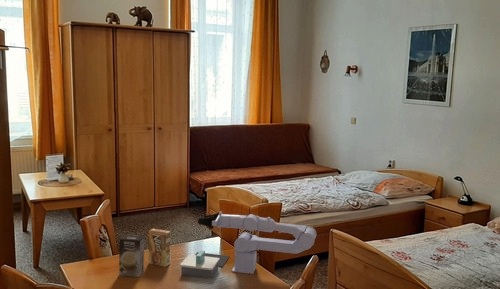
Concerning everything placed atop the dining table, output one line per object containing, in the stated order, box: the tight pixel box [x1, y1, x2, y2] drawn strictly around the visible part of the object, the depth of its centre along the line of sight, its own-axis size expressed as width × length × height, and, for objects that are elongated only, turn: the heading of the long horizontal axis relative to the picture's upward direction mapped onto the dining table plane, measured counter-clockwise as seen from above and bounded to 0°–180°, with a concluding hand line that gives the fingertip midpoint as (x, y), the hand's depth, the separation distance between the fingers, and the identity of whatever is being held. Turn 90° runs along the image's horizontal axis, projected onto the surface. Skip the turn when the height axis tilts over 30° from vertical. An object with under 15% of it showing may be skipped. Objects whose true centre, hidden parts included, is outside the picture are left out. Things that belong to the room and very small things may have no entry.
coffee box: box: [118, 233, 145, 278], centre depth 197 cm, size 9×6×16 cm
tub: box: [180, 263, 219, 280], centre depth 202 cm, size 13×11×4 cm
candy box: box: [148, 228, 171, 267], centre depth 208 cm, size 9×4×15 cm, turn 70°
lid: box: [179, 250, 220, 270], centre depth 202 cm, size 14×12×5 cm
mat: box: [194, 251, 230, 268], centre depth 216 cm, size 16×13×1 cm
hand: (201, 219), depth 209 cm, fingers open, 7 cm apart
